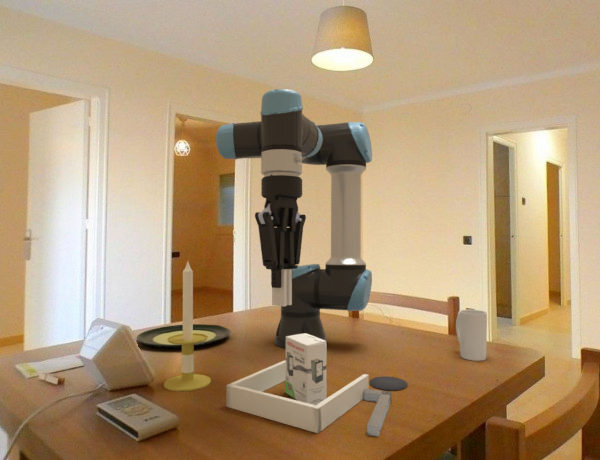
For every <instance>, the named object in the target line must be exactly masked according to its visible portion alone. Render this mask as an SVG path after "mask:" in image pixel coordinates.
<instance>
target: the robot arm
mask: <svg viewBox="0 0 600 460" xmlns="http://www.w3.org/2000/svg"><path fill="white" fill-rule="evenodd" d="M260 110H261V111H260V114H259V115H260V117H261V118H260V121H249V122H238V123H237V122H235V123H234V122H233V123H230V124H223V125H221V126H220V127H219V128H218V129H217V131H216V134H215V140H216V141H215V142H216V150H217V151H218V154H219V156H221V157H222V158H223V159H225V160H239V159H260V173H261V175H262V176H263V177H262V179H261V181H260V183H261V191H260V192H261V197H262V198H264V199H265V202H264V206H263V207H264V209H263V210H262V211H259V212H258V211H256V212H255V213H254V218H255V221H256V225H257V227H258V235H259V243H260V251H261V259H262V265H263V267H265V268H266V270H270V275H271V276H270V278H271V279H270V284H271V294H272V295H271V304H272V306H274V307H275V306H276V307H277V306H278V307H280V320H279V323H278V326H277V328H276V332H275V336H274V344H275V345H276V346H277V347H280V348H283V349H286V336H291V335H297V334H303V333H307V334H309V335H312V336H315V337H318V338H320V339H323V340H325V341H326V342H327V336H326V332H325V328H324V326H323V323H322V319H321V310H333V311H334V310H335V311H347V312H351V311H353V312H360V311H364V310H365V309H366V307H367V306H368V303H369V300H370V297H371V292H372V284H373V283H372V282H373V274H372V271H371V270H370V269H367V264H366V262H365V261H364V260H363V259H362V255H361V254H362V253H361V252H362V251H361V249H362V248H361V247H362V245H361V243H362V241H361V239H362V237H361V235H362V233H361V229H362V228H361V227H362V223H361V222H362V219H361V218H362V217H361V216H362V215H361V214H362V212H361V211H362V205H361V204H362V203H361V201H362V200H361V199H362V197H361V196H362V195H361V194H362V189H361V188H362V179H361V178H362V174H363V173H364V172H365V171H366V170H367V164H368V163H371V162H372V161H373V150H372V142H371V141H372V140H371V137H370V133H369V129H368V128H367V127H368V126H366V124H365V123H363V122H362V121H352V122H351V121H347V122H339V123H329V124H316V123H315V122H314V121H313V120H311V119H309V118H308V117H306V116H305V114H303V110H304V106H303V99H302V95H301V94H300V93H299V92H298V91H296V90H293V89H289V88H279V89H278V88H277V89H276V88H275V89H271V90H268V91H266V92H264V93H263V95H262V97H261V107H260ZM303 164H306V165H314V166H324V165H325V170H326V171H327V173H329V174H330V177H331V179H330V180H331V183H330V184H331V185H330V188H331V189H330V213H331V214H330V258H329V259H328V260H327V261H326V262H325V268H321V264H319V263H315V264H313V263H312V264H304V265H300V262H301V255H302V254H301V253H302V244H303V242H302V241H303V232H304V226H305V222H306V219H307V217H306V215H305V214H301V213H300V212H299V206H298V202H297V201H298V199H301V197H303V179H302V177H300V176H301V175H302V174H303V166H302V165H303Z"/></svg>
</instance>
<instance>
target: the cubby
mask: <svg viewBox="0 0 600 460" xmlns="http://www.w3.org/2000/svg"><path fill="white" fill-rule="evenodd" d="M369 377H370V375H369V374H367V373H366V374H365V373H363V374H362V375H360V376H359V377H357V378H356V379H354V380H352V381H351V382H349V383H348V384H347V385H344V386H343V387H342V388H340V389H339V390H337V391H336V392H334V393H332V394H331V395H330V396H328V397H327V398H326V399H325V400H323V401H322V402H320V403H319V404H315V405H313V404H309V403H305V402H301V401H298V400H296V399H294V398H288V397H284V396H280V395H276V394H272V393H270V392H265V391H267V390H269V389H271V388H273V387H275V386H278V385H279V384H282V383H283V382H285V359H284V360H282V361H280V362H278V363H274V364H273V365H270V366H268V367H266V368H264V369H261V370H258V371H257V372H254V373H251V374H250V375H247V376H245V377H243V378H240V379H238V380H236V381H233V382H231V383H229V384H226V387H225V388H226V390H225V391H226V392H225V393H226V396H225V397H226V400H225V402H226V405H225V406H226V407H227V408H230V409H233V410H237V411H240V412H244V413H246V414H251V415H254V416H258V417H261V418H265V419H267V420H271V421H274V422H277V423H281V424H285V425H288V426H291V427H295V428H297V429H298V428H299V429H301V430H306V431H309V432H312V433H315V434H319V433H321V431H323V430H325V429H326V428H327V427H328V426H329V425H331V424H333V422H335V421H336V420H338V419H339V418H340V417H341V416H343V415H345V414H346V413H347V412H348V411H350V410H351V409H352V408H353V407H355V406H356V405H357V404H359V403H360V402H361V401H363V400H364V391H365V390H366V389H370V380H369V379H370V378H369Z"/></svg>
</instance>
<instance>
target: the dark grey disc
mask: <svg viewBox="0 0 600 460" xmlns="http://www.w3.org/2000/svg"><path fill="white" fill-rule="evenodd" d="M369 386H371V387H372V388H375V389H376V390H380V391H388V392H395V391H397V392H398V391H403V390H405V389H407V388H408V382H407V381H406V380H404V379H402V378H399V377H394V376H376V377H373V378H371V379H370V380H369Z"/></svg>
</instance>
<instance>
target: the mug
mask: <svg viewBox="0 0 600 460" xmlns="http://www.w3.org/2000/svg"><path fill="white" fill-rule="evenodd" d="M487 330H488V312H486V311H485V310H481V309H480V310H479V309H461V310H459V311H458V312H457V317H456V320H455V331H456V336H457V341H458V343H459V346H460V347H459V350H460V352H459V353H460V357H461V358H462V359H464V360H468V361H473V362H480V361H481V362H482V361H486V359H487V345H488V344H487V341H488V340H487V339H488V337H487V335H488V334H487V333H488V331H487Z"/></svg>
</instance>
